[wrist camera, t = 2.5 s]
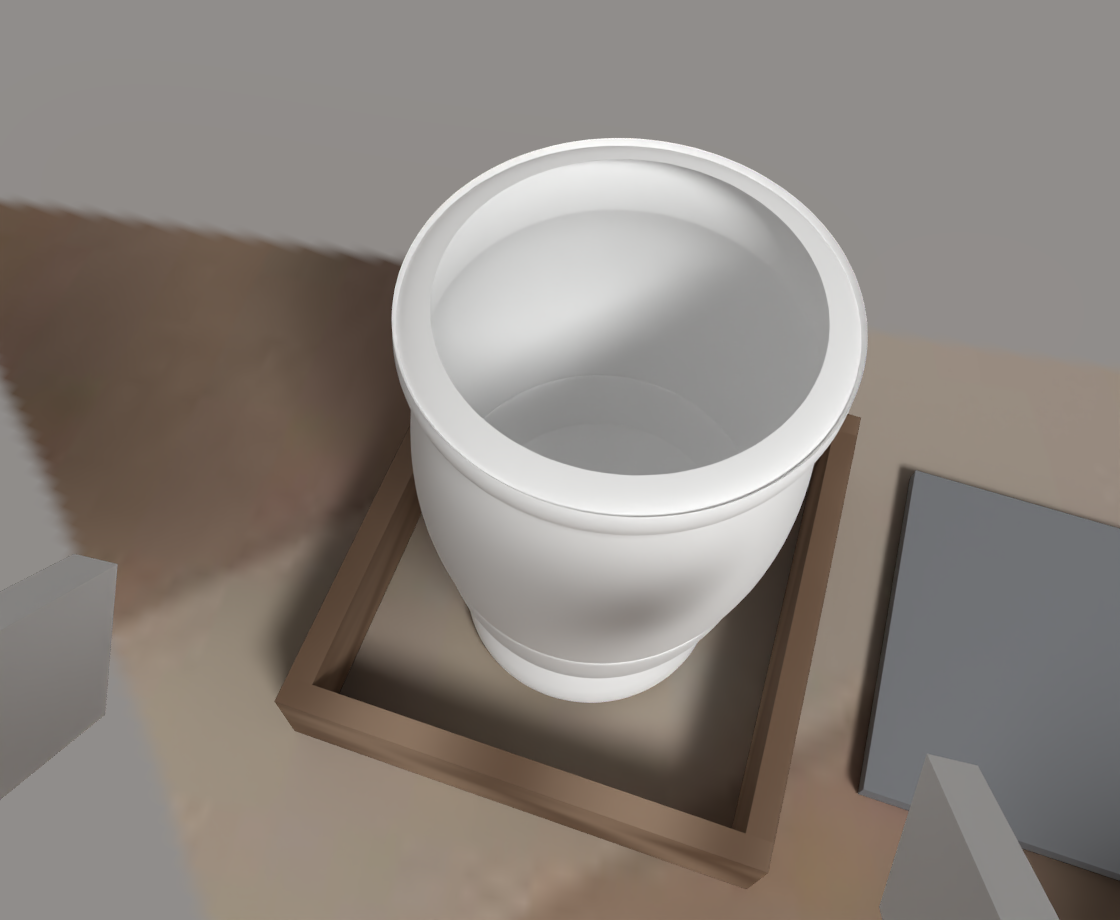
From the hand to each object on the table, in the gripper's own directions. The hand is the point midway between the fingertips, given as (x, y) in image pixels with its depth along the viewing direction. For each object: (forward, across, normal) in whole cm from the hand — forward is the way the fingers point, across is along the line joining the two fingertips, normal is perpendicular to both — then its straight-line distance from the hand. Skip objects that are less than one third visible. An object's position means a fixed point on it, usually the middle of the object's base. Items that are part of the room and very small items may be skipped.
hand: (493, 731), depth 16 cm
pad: (+18, +16, -4) cm, 25 cm away
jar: (+18, 0, -4) cm, 19 cm away
